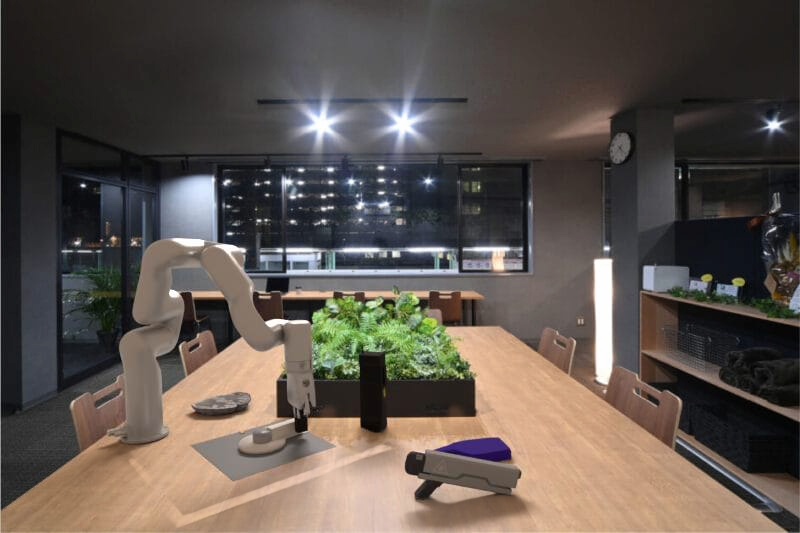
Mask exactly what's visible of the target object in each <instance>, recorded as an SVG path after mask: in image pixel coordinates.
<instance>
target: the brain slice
mask: <svg viewBox="0 0 800 533" xmlns="http://www.w3.org/2000/svg"><path fill="white" fill-rule="evenodd" d="M251 400H252V396H251V394H249V393H248V392H243V391H234V392H230V393H227V394H219V395H213V396H209V397H206V398H205V397H204V398H203V399H201V400H200V401H197V402H193V403H191V404H190V406H191V408H192V409H193V410H194V411H195V412H197V413H199V414H200V413H201V414H202V415H204V416H217V415H219V416H220V415H228V414H229V413H230V414H232V413H234V412H241V411H243V410H244V409H245V408H246V407H247V406H248V405H249V403H251ZM230 414H229V415H230Z"/></svg>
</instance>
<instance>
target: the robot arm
mask: <svg viewBox="0 0 800 533" xmlns="http://www.w3.org/2000/svg"><path fill="white" fill-rule="evenodd" d="M142 255H143V256H142V258H141V264H140V265H141V266H140V274H139V279H138V282H137V287H136V290H135V296H134V301H133V304H132V305H133V306H132V317H133V319H134V321H135V322H137V323H138V324H141V325H145V326H142V327H137V328H135V329H132V330H130V331H128V332H126V333H125V334H124V335H123V336H122V338H121V339H120V341H119V344H118V345H119V346H118V347H119V348H118V351H119V355H120V358H121V362H122V368H123V377H124V400H125V401H124V402H125V403H124V404H125V406H124V407H125V422H124V421H123V423H122V425H120V426H119V427H117V428H111V429H107V431H106V435H107V437H108V438H110V437H114V438H118V437H120V441H121V442H122V443H124V444H128V445H134V444H135V445H139V444H146V443H151V442H155V441H158V440H160V439H163V438H165V437H166V436H167V435H168V434H170V427H169V426H168V425H166V424H164V410H163V409H164V406H163V380H162V378H163V377H162V371H161V366H160V365H159V362H158V361H157V357H160V356H163V355H165V354H168V353H171V351H172V350H173V349H175V347H176V345H177V343H178V340H179V336H180V332H181V326H182V324H183V318H184V313H185V302H184V299H183V297H182V295H181V294H180V293H179V292H178V291H176V290H174V289H171V288H172V285H173V273H172V272H173V271H172V269H189V268H190V269H191V268H199V269H203V270H204V271H205V273H206V274H207V275H208V277H209V278H210V279H211V281H212V283H213V284H214V285H215V286H216V287H217V289H218V290H219V292H220V293H221V295H222V296H223V297H224V299H225V300H226V302H227V304H228V309H229V310H228V311H229V314H230V317H231V321H232V323H233V325H234V327H235V329H236V331H238V333H239V334H240V336H241V337H242V339H243V340H244V342H246V344H247V345H248V346H249V347H250V348H252V350H254V351H257V352H262V353H263V352H264V353H265V352H268V351H270V350H271V349H274V348H277V347H279V346H281V345H283V348H284V349H283V350H284V373H286V375H287V377H286V394H287V402H288V404H290V405H291V406H292V410H293V416H294V417H293V418H294V420H295V431H296V432H297V433H301V432H305V431H308V430H309V423H308V420H309V419H308V418H309V415H310V414H311V410H310V407H311V408H315V407H316V406H317V401H316V400H317V399H316V387H315V386H316V385H315V380H314V374H313V371H314V365H313V364H314V360H313V340H312V339H313V337H312V334H313V333H312V332H313V331H312V324H311V322H310V321H308V320H306V319H305V320H304V319H295V320H286V319H280V318H273V319H269V320H267V321H265V320H264V319H263V317H262V316H261V315H260V314H259V312H258V310H257V309H256V307H255V305H254V300H253V299H254V298H253V295H254V292H255V287H256V286H255V284H254V282H253V281H252V279H251V278H250V277H249V275H248V274H247V273H246V271H245V270H244V269H243V267H244V265H245V256H244V253H243V251H242V250H240V249H239V247H237V246H236V245H233V244H226V243H221V242H220V243H219V242H215V241H209V240H203V239H199V238H198V239H196V238H184V237H183V238H181V237H180V238H179V237H178V238H177V237H175V238H174V237H173V238H172V237H171V238H164V239H163V238H162V239H159V240H156V241H154V242H153V243H151V244H150V245H148V246H147V248H145V251H144V253H143V254H142Z"/></svg>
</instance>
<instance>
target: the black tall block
mask: <svg viewBox="0 0 800 533" xmlns="http://www.w3.org/2000/svg"><path fill="white" fill-rule="evenodd" d="M358 366H359V399H360V400H359V401H360V403H359V404H360V405H359V408H360V410H359V411H360V414H359V417H360V418H359V421H360V422H359V426H360V428H362V429H364V430H366V431H369V432H372V433H373V432H374V433H381V432H383V431H384V430H385V429H386V427H388V414H387V413H388V412H387V386H388V384H389V383H388V372H387V370H388V369H387V365H386V352H385V351H368V350H367V351H366V350H364V344H361V352H360V353H359V354H358Z"/></svg>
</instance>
